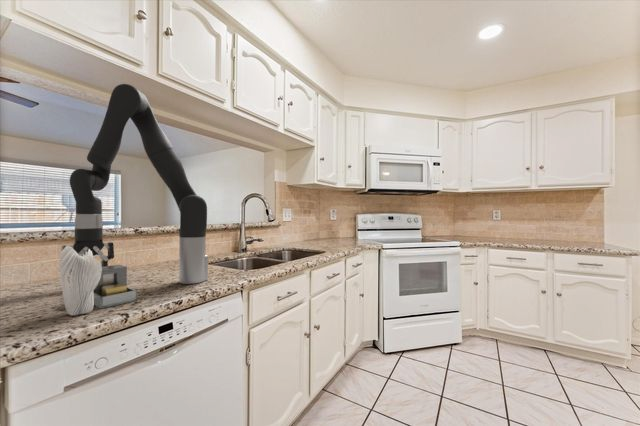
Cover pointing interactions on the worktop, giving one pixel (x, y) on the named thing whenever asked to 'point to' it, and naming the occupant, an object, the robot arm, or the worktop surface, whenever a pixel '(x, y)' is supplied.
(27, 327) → the worktop surface
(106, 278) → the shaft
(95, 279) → the shell sculpture
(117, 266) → the grey tray with arch
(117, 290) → the yellow block
